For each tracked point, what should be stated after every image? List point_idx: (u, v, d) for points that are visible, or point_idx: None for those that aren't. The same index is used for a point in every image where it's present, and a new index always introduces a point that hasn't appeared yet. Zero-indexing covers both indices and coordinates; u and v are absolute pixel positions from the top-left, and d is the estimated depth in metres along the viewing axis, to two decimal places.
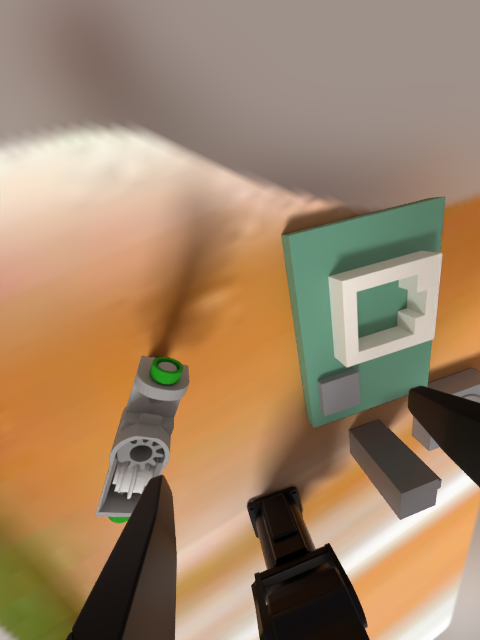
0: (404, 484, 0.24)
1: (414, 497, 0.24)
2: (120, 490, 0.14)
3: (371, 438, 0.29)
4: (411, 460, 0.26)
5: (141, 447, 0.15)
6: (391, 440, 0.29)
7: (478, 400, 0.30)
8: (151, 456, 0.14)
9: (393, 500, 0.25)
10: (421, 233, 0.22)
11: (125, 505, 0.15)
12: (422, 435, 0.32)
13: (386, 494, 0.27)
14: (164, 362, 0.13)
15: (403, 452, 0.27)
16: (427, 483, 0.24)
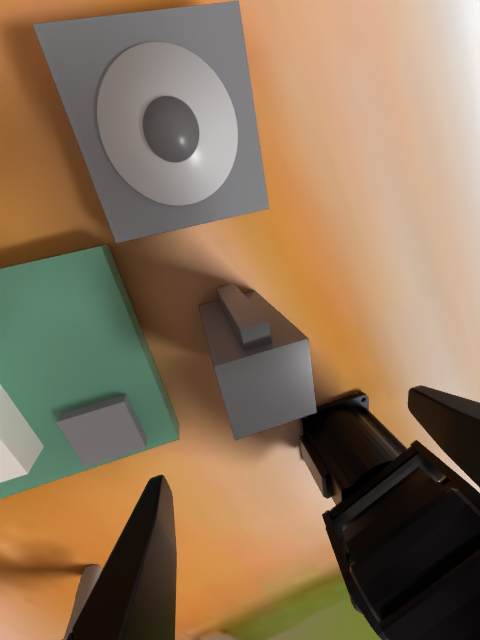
0: None
1: (257, 406, 0.11)
2: None
3: None
4: None
5: None
6: None
7: (113, 82, 0.10)
8: None
9: None
10: None
11: None
12: None
13: None
14: None
15: None
16: (223, 388, 0.11)
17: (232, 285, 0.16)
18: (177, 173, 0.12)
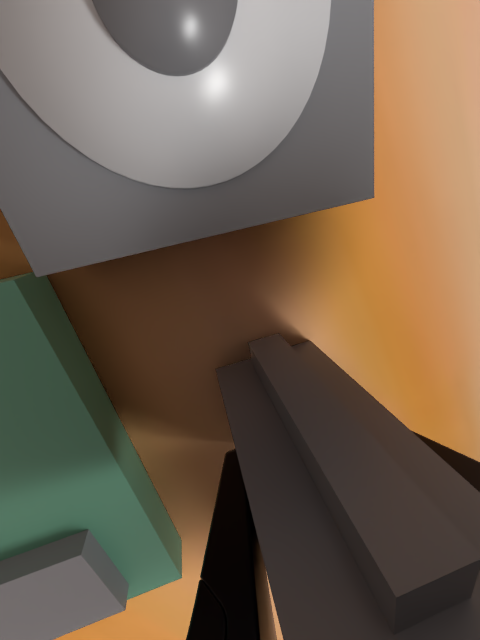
0: None
1: None
2: None
3: None
4: None
5: None
6: None
7: None
8: None
9: None
10: None
11: None
12: None
13: None
14: None
15: None
16: None
17: (278, 339, 0.09)
18: (179, 106, 0.05)
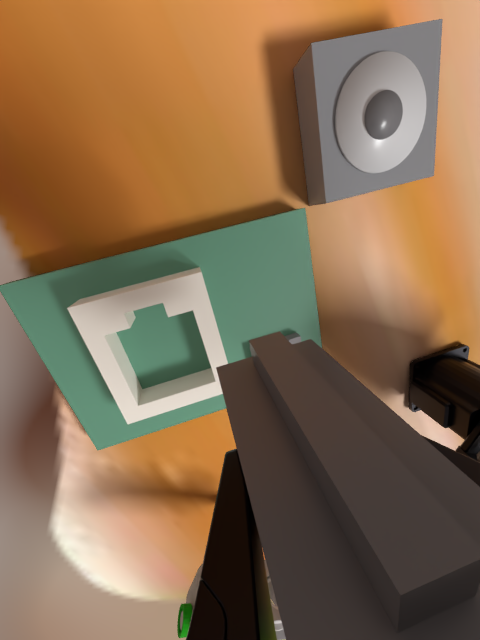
0: None
1: None
2: None
3: None
4: None
5: None
6: None
7: (353, 81, 0.15)
8: None
9: None
10: (56, 307, 0.17)
11: None
12: None
13: None
14: (180, 616, 0.19)
15: None
16: None
17: (279, 337, 0.09)
18: (379, 148, 0.16)
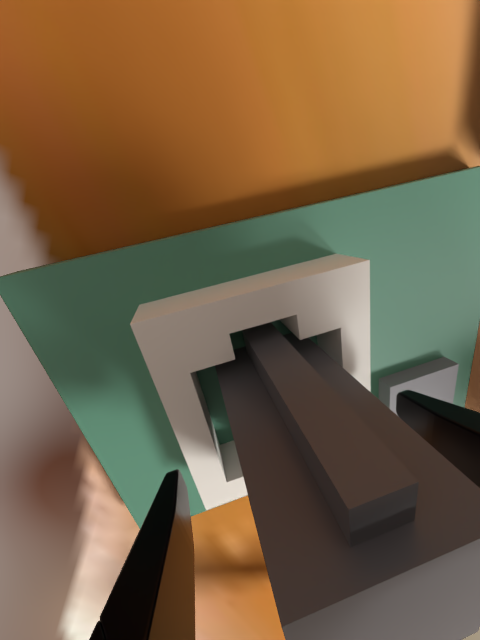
0: None
1: None
2: None
3: None
4: None
5: None
6: None
7: None
8: None
9: None
10: (98, 319, 0.09)
11: None
12: None
13: None
14: None
15: None
16: None
17: (270, 327, 0.10)
18: None
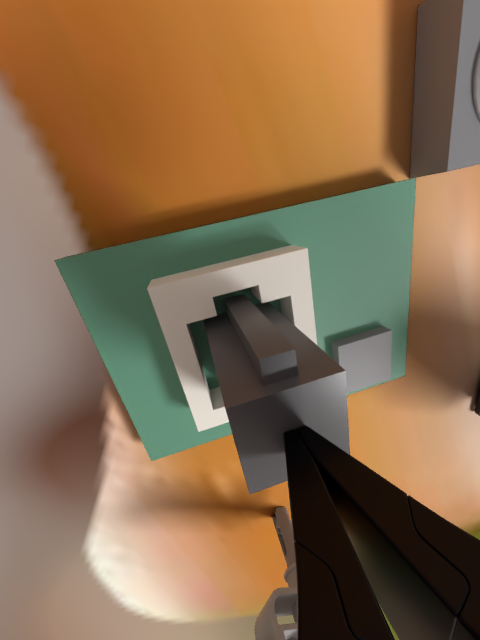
0: None
1: (278, 453, 0.09)
2: None
3: None
4: None
5: None
6: None
7: None
8: None
9: None
10: (123, 289, 0.14)
11: None
12: None
13: None
14: None
15: None
16: (237, 434, 0.08)
17: (242, 296, 0.14)
18: None
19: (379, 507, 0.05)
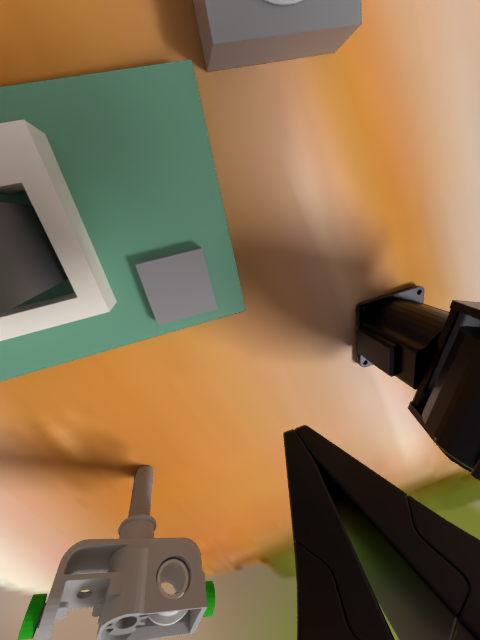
0: None
1: None
2: None
3: None
4: None
5: None
6: None
7: None
8: None
9: None
10: None
11: (195, 610, 0.16)
12: (323, 40, 0.14)
13: None
14: None
15: None
16: None
17: None
18: None
19: (379, 507, 0.05)
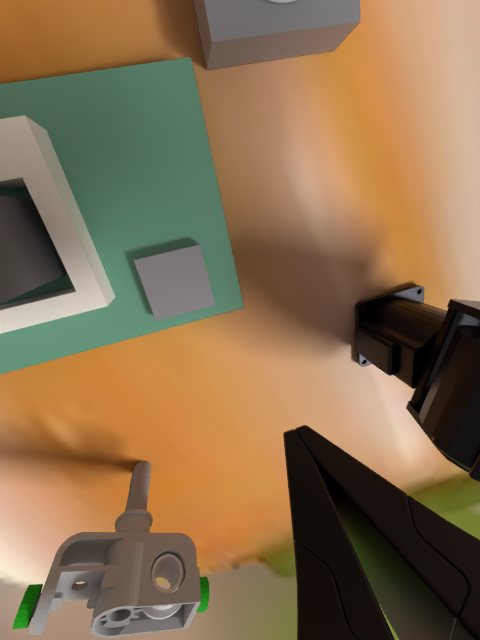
0: None
1: None
2: None
3: None
4: None
5: None
6: None
7: None
8: None
9: None
10: None
11: (189, 605, 0.16)
12: (322, 38, 0.14)
13: None
14: None
15: None
16: None
17: None
18: None
19: (379, 507, 0.05)
